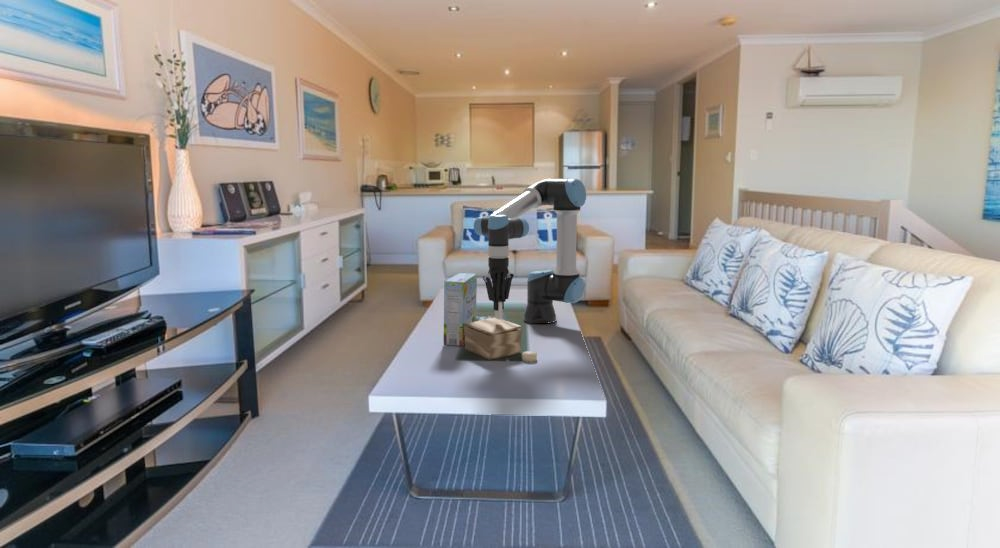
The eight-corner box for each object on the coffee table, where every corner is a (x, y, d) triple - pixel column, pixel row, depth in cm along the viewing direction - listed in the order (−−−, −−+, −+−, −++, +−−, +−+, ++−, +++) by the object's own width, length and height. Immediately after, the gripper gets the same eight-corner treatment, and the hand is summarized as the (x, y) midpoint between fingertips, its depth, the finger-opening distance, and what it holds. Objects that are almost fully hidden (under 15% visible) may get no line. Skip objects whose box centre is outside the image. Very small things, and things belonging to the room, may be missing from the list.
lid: (489, 335, 203) (489, 333, 203) (464, 325, 217) (464, 323, 217) (521, 327, 212) (521, 325, 212) (495, 318, 225) (495, 317, 225)
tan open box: (496, 342, 226) (496, 321, 225) (520, 352, 214) (521, 329, 212) (465, 349, 218) (465, 326, 216) (489, 360, 205) (489, 335, 204)
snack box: (464, 347, 221) (464, 282, 216) (442, 345, 222) (442, 281, 218) (477, 332, 242) (477, 272, 237) (457, 331, 243) (457, 272, 239)
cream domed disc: (530, 356, 210) (530, 350, 209) (539, 360, 205) (539, 353, 205) (519, 359, 207) (519, 352, 206) (528, 362, 202) (528, 356, 202)
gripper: (506, 254, 218) (506, 313, 222) (478, 257, 211) (478, 318, 215) (518, 256, 212) (518, 317, 216) (489, 259, 205) (490, 323, 209)
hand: (498, 318), depth 216 cm, fingers closed
